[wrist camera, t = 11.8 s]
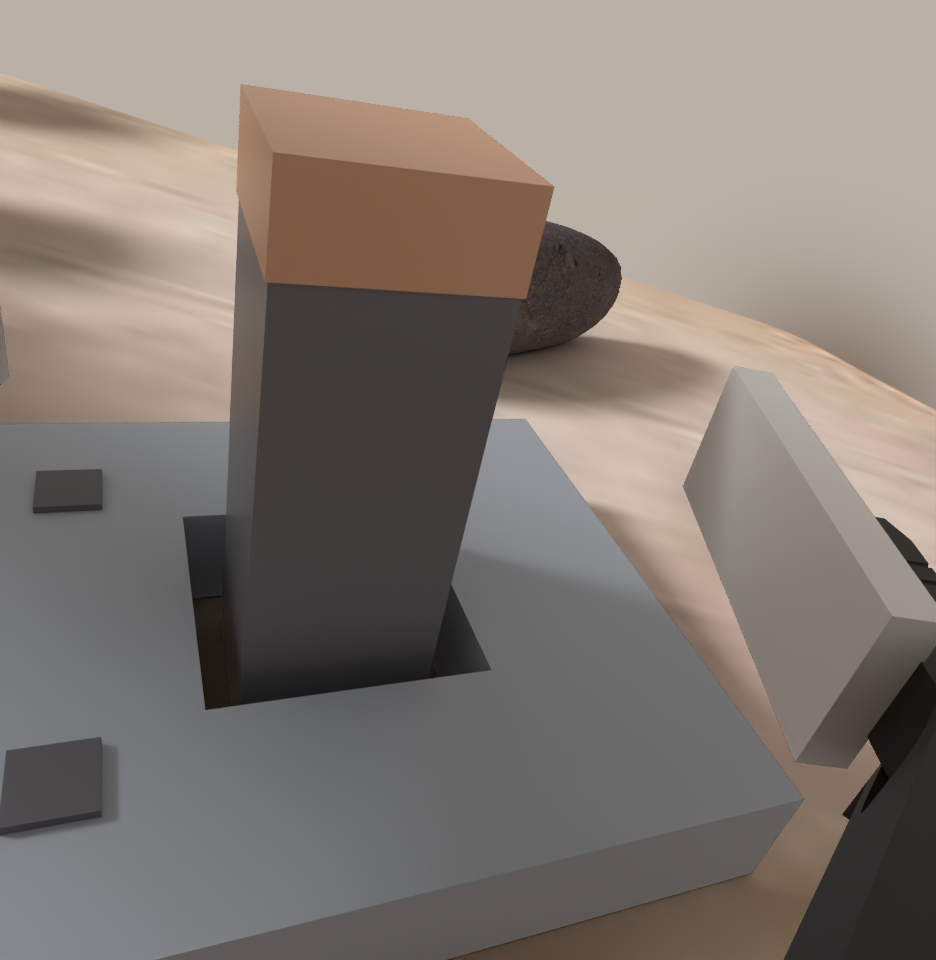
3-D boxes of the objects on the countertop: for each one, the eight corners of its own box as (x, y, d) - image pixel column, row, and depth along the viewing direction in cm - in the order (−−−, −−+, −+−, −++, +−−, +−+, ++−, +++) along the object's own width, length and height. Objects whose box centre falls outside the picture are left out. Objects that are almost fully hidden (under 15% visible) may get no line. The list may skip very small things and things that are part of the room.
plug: (235, 755, 19) (272, 152, 12) (219, 618, 23) (240, 84, 15) (417, 728, 21) (554, 186, 14) (377, 605, 25) (468, 118, 17)
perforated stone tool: (576, 320, 48) (610, 202, 44) (631, 362, 44) (674, 237, 40) (337, 332, 40) (354, 189, 36) (382, 384, 36) (405, 232, 33)
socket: (-156, 1131, 13) (-209, 1042, 11) (-30, 508, 25) (-46, 418, 23) (751, 872, 20) (807, 793, 18) (507, 485, 31) (526, 414, 30)
